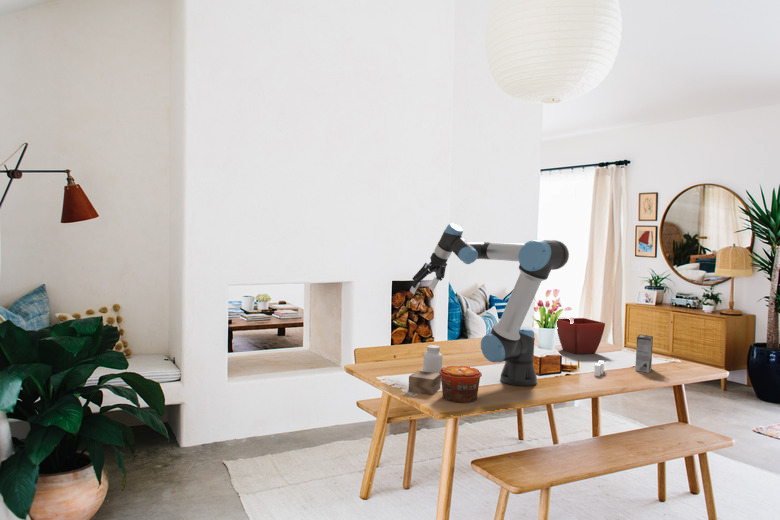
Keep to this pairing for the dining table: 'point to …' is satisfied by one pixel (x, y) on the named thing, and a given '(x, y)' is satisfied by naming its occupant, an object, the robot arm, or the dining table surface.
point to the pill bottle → (432, 359)
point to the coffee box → (644, 353)
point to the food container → (460, 383)
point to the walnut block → (424, 382)
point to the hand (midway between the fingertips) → (421, 290)
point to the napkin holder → (599, 368)
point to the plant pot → (580, 335)
